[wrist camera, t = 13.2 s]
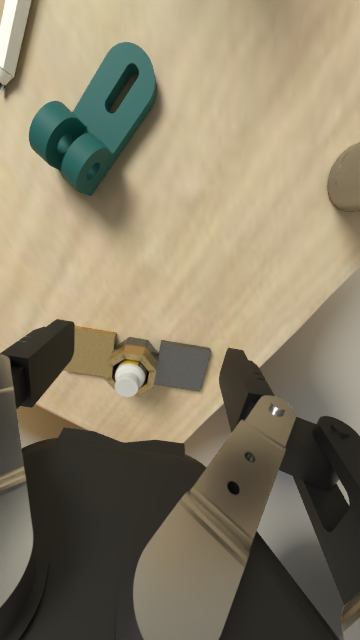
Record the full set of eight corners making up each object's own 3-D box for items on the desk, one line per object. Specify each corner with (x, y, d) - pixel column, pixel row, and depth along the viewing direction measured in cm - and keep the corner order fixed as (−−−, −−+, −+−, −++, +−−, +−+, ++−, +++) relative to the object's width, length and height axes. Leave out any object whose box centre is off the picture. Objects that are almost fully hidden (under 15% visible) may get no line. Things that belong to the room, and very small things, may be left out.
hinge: (210, 348, 46) (214, 364, 40) (199, 387, 50) (202, 407, 44) (64, 324, 44) (48, 338, 39) (65, 367, 48) (50, 385, 42)
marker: (6, 100, 32) (38, -52, 27) (14, 105, 32) (49, -50, 26) (-16, 85, 30) (14, -85, 24) (-8, 90, 29) (25, -84, 24)
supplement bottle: (155, 355, 47) (148, 385, 38) (140, 372, 48) (131, 406, 39) (132, 341, 45) (121, 369, 36) (118, 359, 47) (104, 390, 38)
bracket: (91, 196, 36) (68, 187, 29) (54, 161, 34) (19, 143, 27) (166, 87, 31) (162, 43, 24) (127, 40, 29) (109, -22, 22)
